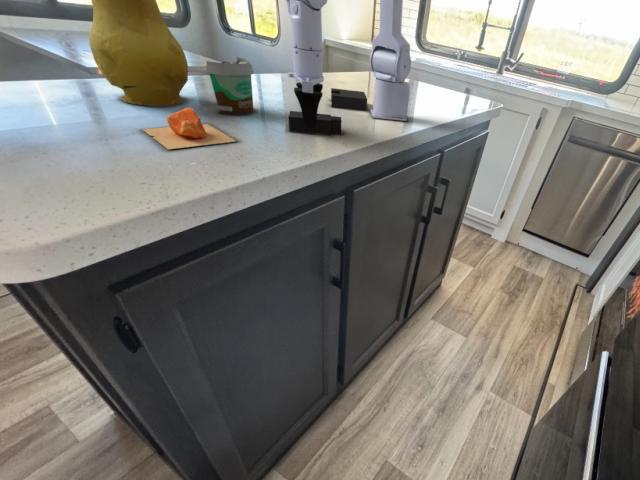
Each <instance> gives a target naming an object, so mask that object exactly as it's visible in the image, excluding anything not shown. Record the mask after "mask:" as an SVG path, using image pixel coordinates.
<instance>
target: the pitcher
mask: <svg viewBox="0 0 640 480" xmlns="http://www.w3.org/2000/svg"><path fill="white" fill-rule="evenodd" d="M91 4H92V12H93V13H92V14H93V16H92V17H93V18H92V24H91V27H90V30H89V33H88V43H89V48H90V50H91V54H92V57H93V60H94V62H95V64H96V66H97V67H98V69H99V71H100V73H101V75H102V77H103V78H105V79H106V81H107V82H108V83H109V85H111V86H113V87H116V88H118V89H121V90H122V92H123V94H124V95H122V96H120V101H122V102H124V103H129V104H133V105H140V106H141V105H142V106H146V107H149V106H150V107H174V106H176V105H181V104H182V103H184V102H185V98H184V97H182V96H181V91H182V90H183V88H184V87H185V85H186V84H187V82H188V81H189V63H188V60H187V58H186V54H185V51H184V49H183V47H182V46H181V45H182V44H180V42H179V41H178V40H177V38H176V37H175V36H174V34H173V33H172V32H171V30H170V29H169V28H168V26H167V24H166V22H165V20H164V18H163V16H162V13H161V11H160V8H159V5H158V3H157V0H91Z"/></svg>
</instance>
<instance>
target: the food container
mask: <svg viewBox="0 0 640 480" xmlns="http://www.w3.org/2000/svg"><path fill="white" fill-rule="evenodd" d="M206 74H209V77H210V81H211V85H212V89H213V93H214V96H215V100H216V104H217V107H218V111H219V114H222V115H230V116H243V115H244V116H245V115H250V114H252V113H254V98H253V83H252V75H254V69H253V65H252V63H251V62H250V60H249V59H246V58H243V57H238V56H237V57H236V61H234V62H232V61H231V62H230V61H221V62H218V61H217V62H216V61H209V60H206Z"/></svg>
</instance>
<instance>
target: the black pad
mask: <svg viewBox="0 0 640 480" xmlns="http://www.w3.org/2000/svg"><path fill="white" fill-rule="evenodd" d="M287 118H288V129H289V132H291V133H301V134H302V133H303V134H313V135H314V134H315V135H323V136H324V135H326V136H332V135H342V122H343V121H342V116H335V115H331V114H326V113H317V119H316V126H315V128H313V127H305V124H304V120H303V115H302V111H296V110H290V111H289V113H288V117H287Z"/></svg>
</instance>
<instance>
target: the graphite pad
mask: <svg viewBox="0 0 640 480" xmlns="http://www.w3.org/2000/svg"><path fill="white" fill-rule="evenodd" d="M330 101H331V102H330V103H331V108H336V109H346V110H355V111H364V112H367V110H368V98H367V96H366V93H365V91H359V90H351V89H343V88H335V87H331V88H330Z"/></svg>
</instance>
